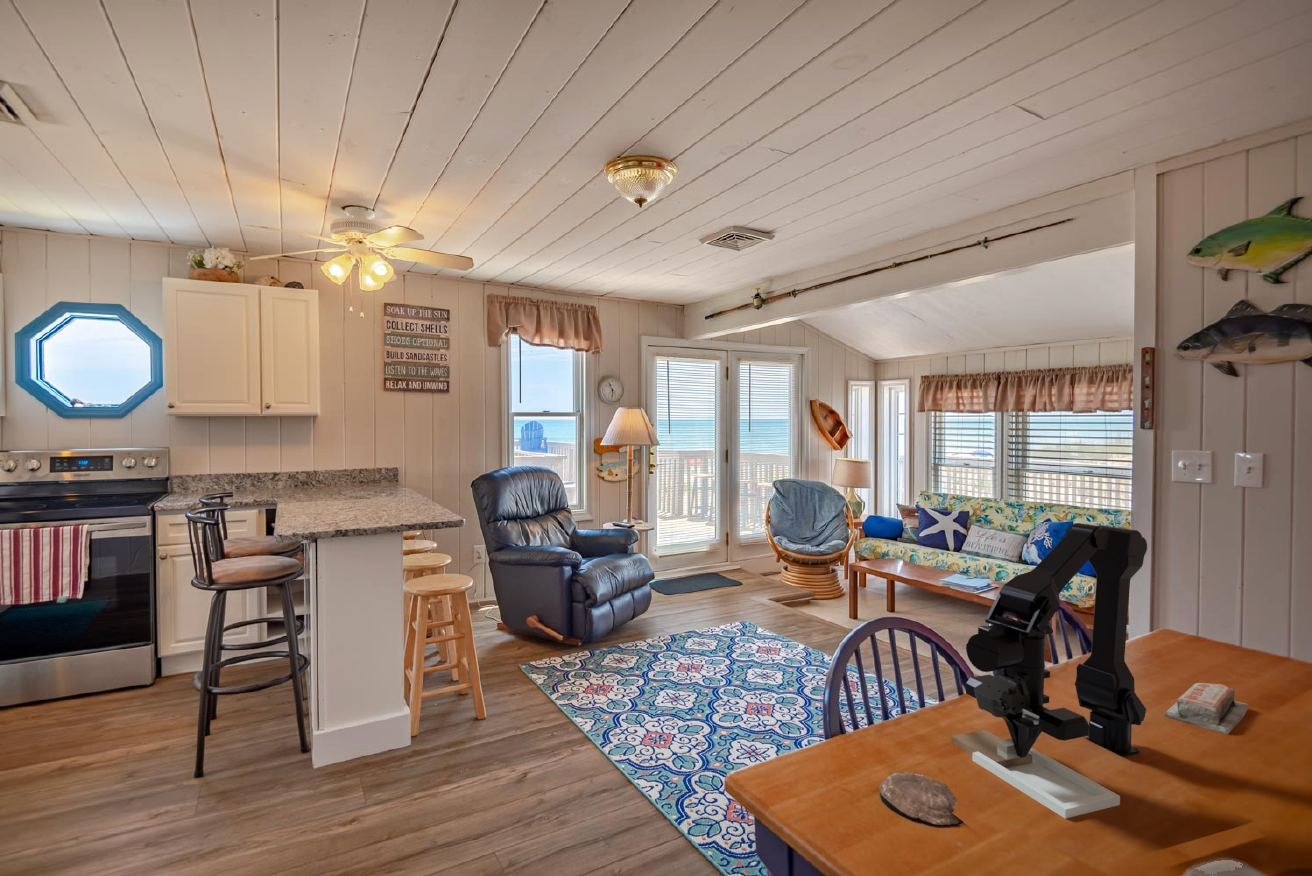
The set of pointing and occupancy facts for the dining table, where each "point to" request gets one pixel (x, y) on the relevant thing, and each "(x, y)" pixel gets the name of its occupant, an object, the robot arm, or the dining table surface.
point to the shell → (919, 799)
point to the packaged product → (1209, 707)
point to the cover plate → (991, 747)
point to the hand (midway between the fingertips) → (1021, 756)
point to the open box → (1053, 785)
